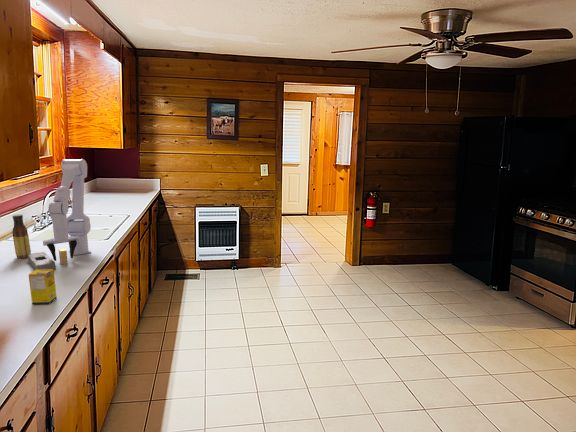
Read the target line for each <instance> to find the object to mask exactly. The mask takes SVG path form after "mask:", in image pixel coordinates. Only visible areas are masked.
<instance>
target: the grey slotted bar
mask: <svg viewBox="0 0 576 432" xmlns="http://www.w3.org/2000/svg"><path fill="white" fill-rule="evenodd" d="M26 259H27V262H28V263H29V264H30V265H31V267H32V268H33V269H34V271H35V270H36V269H54V271H56V270H57V269H56V261H54V259H52V258H51V257H50V256H49V255H48V254H47V253H46V252H45V251H40V252H33V253H31V254H27V258H26Z"/></svg>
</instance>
